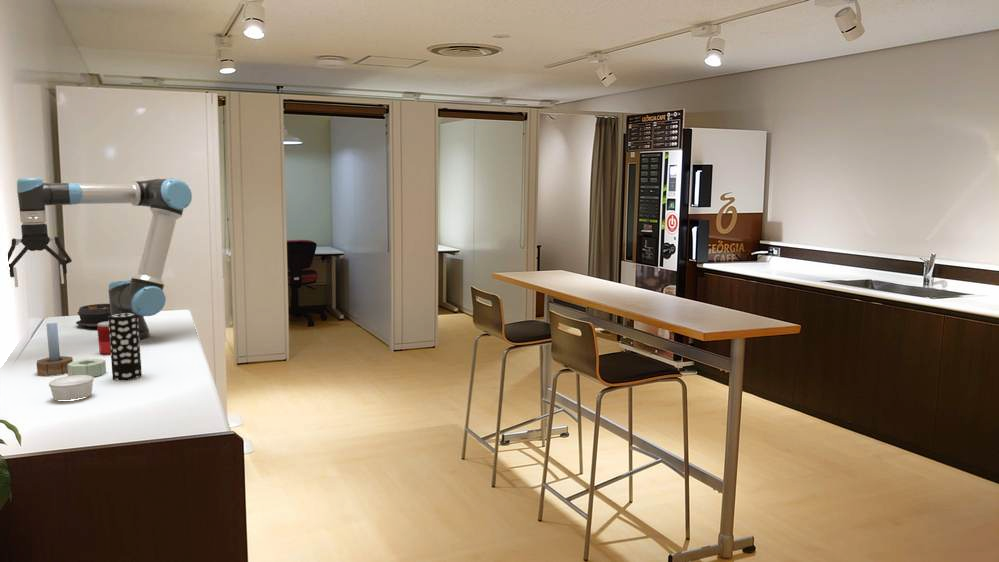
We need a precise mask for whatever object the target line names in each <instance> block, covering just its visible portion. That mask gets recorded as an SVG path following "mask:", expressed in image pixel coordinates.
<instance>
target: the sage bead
mask: <svg viewBox="0 0 999 562" xmlns="http://www.w3.org/2000/svg"><path fill="white" fill-rule="evenodd" d="M67 366H68V373H67V376H74V375H89V376H92V377H93V378H95V376H97V377H101V376H100V375H102V376H103V375H105V374H106V373H107V367H106V366H107V363H106V360H105V359H102V358H84V359H79V360H73V362H71V363H69V364H67ZM104 373H105V374H104Z"/></svg>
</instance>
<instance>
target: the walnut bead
mask: <svg viewBox="0 0 999 562" xmlns="http://www.w3.org/2000/svg"><path fill="white" fill-rule="evenodd" d="M73 359H74V358H73V356H66V355H63V356H61V355H60V361H54V362H50V361H49V356H48V357H45V358H41V359H38V360H36V371H37V372H36V374H37V376H40V375H54V376H58V375H57V374H62V375H65V373H66V374H68V366H67V364H69V363H71V362H73V361H74V360H73Z"/></svg>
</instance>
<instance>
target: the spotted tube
mask: <svg viewBox="0 0 999 562" xmlns="http://www.w3.org/2000/svg"><path fill="white" fill-rule="evenodd" d="M108 322H109V336H110V350H111V355H110V363H111V375H112V379H113V380H114V381H118V380H124V381H129V380H128V379H132V380H134V379H133V378H137V379H139V378H141V377H142V376H143V374H142V373H143V372H142V359H141V345H140V343H141V341H140V339H139V327H138V314H137V313H119V314H112V315H109V316H108ZM141 375H142V376H141ZM140 376H141V377H140ZM138 377H139V378H138Z"/></svg>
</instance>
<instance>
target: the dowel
mask: <svg viewBox="0 0 999 562" xmlns="http://www.w3.org/2000/svg"><path fill="white" fill-rule="evenodd" d="M58 330H59V327H58V323H57V322H49V323H46V337H47V346H48V348H47V349H48V357H49V361H50V362H54V361H60V356H61V353H60V342H59V331H58Z"/></svg>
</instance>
